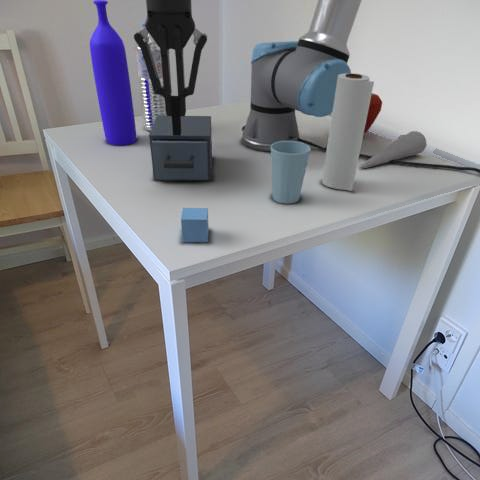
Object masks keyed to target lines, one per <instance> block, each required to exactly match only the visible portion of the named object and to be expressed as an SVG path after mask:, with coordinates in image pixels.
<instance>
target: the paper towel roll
mask: <svg viewBox="0 0 480 480" xmlns="http://www.w3.org/2000/svg"><path fill="white" fill-rule="evenodd" d="M374 85H375V82H374V81H372V80H370V77H369V76H368V75H365V74H362V73H361V74H360V73H352V72H351V73H346V74H340V75H338V78H337V85H336V92H335V98H334V105H333V112H332V113H331V117H330V118H331V119H330V126H329V132H328V139H327V144H326V148H327V151H325V158H324V165H323V171H322V177H321V178H322V179H321V183H322V184H323V186H326V187H328V188H332V189H335V190H343V191H344V190H345V191H349V192H353V189H354V183H355V179H356V174H357V170H358V169H357V168H358V163H359V158H360V157H359V154H361V149H362V144H363V138H364V135H365V134H364V129H365V124H366V119H367V114H368V109H369V105H370V100H371V95H372V93H373V90H374Z"/></svg>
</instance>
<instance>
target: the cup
mask: <svg viewBox="0 0 480 480" xmlns="http://www.w3.org/2000/svg"><path fill="white" fill-rule="evenodd" d="M310 154H311V147H310V145H308V144H305V143H303V142H300V141H299V142H297V141H279V142H275V143H273V144H272V145H271V151H270V161H271V166H270V167H271V187H272V189H271V190H272V191H271V192H272V193H271V194H272V200H274V201H275V202H277V203H279V204H285V205H286V204H288V205H289V204H294V203H295V204H296V202H298V201H299V200H300V197H301V192H302V189H303V188H302V187H303V183H304V178H305V176H306V175H305V174H306V170H307V166H308V163H309V158H310Z"/></svg>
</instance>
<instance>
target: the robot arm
mask: <svg viewBox="0 0 480 480" xmlns="http://www.w3.org/2000/svg"><path fill="white" fill-rule="evenodd" d="M361 3H362V0H317V3H316V6H315V10H314V13H313V16H312V19H311V22H310V25H309V29H308V31H307V32H306V33H305V34H303V35H301V36H300V37H299V38H298V40H294V41H293V40H290V41H288V40H287V41H271V42H261V43H260V42H259V43H257V44H255V45H254V47H253V49H252V54H251V55H252V56H251V61H250V64H251V72H250V73H251V75H250V76H251V77H250V107H249V108H250V109H249V113H248V116H247V119H246V122H245V125H244V126H242V127H241V132H242V144H243V145H245V146H246V147H248V148H250V149H252V150H257V151H261V152H271V145H272V144H273V143H275V142H279V141H297V142H301V143H304V144H307V145H308V146H311V147H313V148H316V149H318V150H322V151H325V152H326V151H327V147H325V146H321V145H319V144H316V143H314V142H311V141H308V140H307V139H302V138H300V131H299V126H298V122H297V116H296V111H298V112H300V113H301V114H304V115H307V116H312V117H316V118H325V117H327V116H329V115H332V112H333V105H334V98H335V92H336V85H337V78H338V75H340V74H346V73H352V70H351V68H350V66H349V64H348V62H349V59H350V55H351V54H350V51H349V48H348V41H349V37H350V36H351V32H352V30H353V27H354V24H355V21H356V19H357V18H356V17H357V14H358V12H359V9H360V6H361ZM145 4H146V12H147V13H146V20H145V21H144V23H145V27H144V28H143V27H142V29H140V30H139V31H137V32H135V33H134V35H133V40H134V42H135V41H136V43H137V44H138V46H139V47H140V49H141V51H142V54H143V57H144V61H145V64H146V67H147V70H148V73H149V77H150V80H151V83H152V86H153V90H154V92H155V94H159V95H161V96H163V97H164V99H165V110H166V115H167V116H172V128H173V135H178V136H181V132H182V131H181V116H186V113H187V103H186V98H187V97H189V96H193V95H194V94H195V89H196V84H197V78H198V73H199V66H200V60H201V55H202V52H203V49H204V48H205V45H206V43H207V41H208V35H207V34H206V33H203V32H202V31H200V30H199V29H198V28H196V23H195V20H194V19H193V18H194V17H193V11H192V0H145ZM148 34H150V35H151V37H152V38H153V39H154V41H155V42H156V44H157V45H158V46H159V47H160V53H161V62H162V75H163V87H162V86H161V83H160V80H159V76H158V73H157V70H156V66H155V63H154V60H153V56H152V53H151V50H150V47H149V44H148V42H149V36H148ZM192 36H193V40H192V41H193V42H192V43H193V44H194V45H195V47H194V51H193V57H192V62H191V69H190V73H189V79H188V86H186V79H185V61H184V59H185V58H184V49H185V47H186V46H187V44H188V42H189V40H190V39H191V37H192ZM170 50H173V51H174V56H175V68H176V69H175V70H176V86H177V95H172V93H173V90H172V76H171V61H170ZM373 156H374V155H368V154H364V153H360V154H359V158H364V159H367V160H368V159H370V158H371V157H373ZM388 163H389V164H397V165H405V166H406V165H407V166H413V167H414V166H415V167H424V168H438V169H449V170H456V171H473V172H476V173H478V174H480V168H477V167H474V166H473V167H470V166H458V165H457V166H456V165H450V164H438V163H437V164H436V163H434V164H433V163H426V162H415V161H405V160H399V159H398V160H391V161H390V162H388Z"/></svg>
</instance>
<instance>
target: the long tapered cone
mask: <svg viewBox="0 0 480 480" xmlns="http://www.w3.org/2000/svg"><path fill="white" fill-rule="evenodd" d="M426 148H427V138H426V137H425V135H424V134H423V133H422V132H420V131H418V130H413V131H412V130H411V131H410V132H408V133H406V134H403V135H402V136H400V137H398V138H397V139H395V140H394V141H392V142H391V143H389V144H388V145H387V146H384V148H382V149H380V150H379V151H378V152H377V153H376V154H374V155H372V156H373V157H371V158H370V159H368V158H367V159H366V160H365V161H364V162H362V163H361V165H360V168H361V169H367V168H372V167H376V166H379V165H383V164H387V163H389V162H390V161H391V160H398V161H399V160H402V159H404V158H408V157H409V158H410V157H413V156H416V155H419V154H421V153H423V152H424V151H425V149H426Z"/></svg>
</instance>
